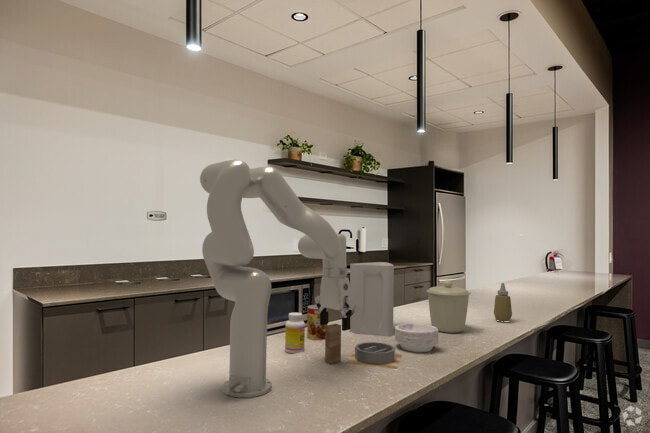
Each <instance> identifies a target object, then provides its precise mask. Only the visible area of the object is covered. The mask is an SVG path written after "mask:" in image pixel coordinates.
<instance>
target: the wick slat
mask: <svg viewBox="0 0 650 433" xmlns="http://www.w3.org/2000/svg"><path fill="white" fill-rule="evenodd" d="M324 342H325V343H324V344H325V345H324V364H328V365H334V364H337V363H338V364H339V363H340V362H341V359H342V324H338V323H333V324H327V326H325V340H324Z"/></svg>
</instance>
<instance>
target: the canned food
mask: <svg viewBox="0 0 650 433" xmlns="http://www.w3.org/2000/svg"><path fill="white" fill-rule="evenodd" d="M318 310H319V309H318V307H317V304H311V305H308V306H307V322H306V323H307V324H306V325H307V326H306V328H307V329H306V336H307V337H306V338H307V339H308V340H310V341H311V340H312V341H325V326H327V325H328V324H326V325H320V313H319V311H318ZM327 311H328V312H329V309H328V310H327ZM327 311H326V312H327Z"/></svg>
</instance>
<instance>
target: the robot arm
mask: <svg viewBox="0 0 650 433" xmlns="http://www.w3.org/2000/svg"><path fill="white" fill-rule="evenodd" d="M199 182H200V185H201V187H202V189H203V190H204V191H205V192H206V193H208V198H207V202H206V215H207V216H206V217H207V220H208V222H209V227H210V230H211V232H210V233H208V234H207V235H206V236H205V238H204V240H203V242H202V249H201V250H202V251H201V252H202V257H203V261H204V263H205V265H206V269H207V270H208V274H209V276H210V279H211V281H212V284H213V286H214V288H215V290H216V292H217V293H218V294H219V296H220V297H221V298H223V299H226V300H228V301H232V302H234V306H233V309H232V312H231V316H230V323H229V324H230V326H229V332H230V334H229V367H228V369H229V372H228V373H229V374H228V375H229V376H228V380H227V381H225V382H224V384H223V385H222V389H221V390H222V393H223V394H225V395H227V396H230V397H234V398H242V399H243V398H254V397H255V398H256V397H260V396H264V395H265V394H267V393H269V392H270V391H271V390H272V388H273V385H272V384H273V383H272V381H271V380H270V379H268V378H267V346H268V345H267V342H268V339H267V338H268V310H269V305H270V304H269V303H270V298H271V295H272V282H271V279H270V277H269V276H268V274H267V273H265V272H264V271H263V270H261V269H259V268H255V267H249V266H247V265H248V264H250V262H251V261H252V260H253V259H254V254H255V250H254V244H253V242H252V239H251V236H250V233H249V230H248V227H247V224H246V221H245V219H244V215H243V211H242V200H243V199H257V198H260V199H261V201H262V202H263V203H264V204H265V206H266V207H267V208H268V210H270V212H271V213H272V214H273V216H274V217H275V218H276V219H277V221H278V222H279V223H281V224H283V225H284V226H287V227H289V228H291V229H293V230H295V231H299V232H301V233H302V234H304V235H303V236H302V237H300V239H299V240H298V243H297V249H298V252H299V253H300V255H302V256H303V257H305V258H308V259H316V260H317V259H318V260H322V277H321V282H320V288H319V289H320V290H319V295H317V296H316V297H314V300H315V305H317V307H318V309H319V310H318V311H319V313H320V325H326V324H327V325H329V310H334V311H338V312H340V313H341V315H342V318H341V332H346V331H350V317H352V314H353V313H354V312H355V311H354V310H355V308H356V306H357V305H356V304H355V303H354V302H353V301H352V300H351V290H350V278H349V277H347V276H348V274H349V272H348V270H347V237H346V235H344V234H343V233H337V231H336V230H335V229H334V228H333V227H332V225H331V224H330V222H328V221H327V219H325V218H324V217H323V216H321V215H320V214H318V213H317V212H315V211H314V210H312V209H311V208H310V207H308V206H307V205H306V204H304V203H303V202H302V201H301V200H300V199H299V197H298V195H297V194H296V193H295V190H293V189H292V187H291V186H290V184H289V183H288V182H287V180H286V179H285V177H284V176H283V175H282V174H281V173H280V171H278V169H276V167H275V168H274V167H273V166H261V167H254V168H250V166H249V165H248V163H246V161H245V162H244V160H240V159H228V160H223V161H221V162H220V161H219V162H215V163H210V164H209V165H207V166H206V167H204V168H203V170H202V171H201V173H200V175H199ZM327 310H328V311H327ZM326 311H327V312H326Z"/></svg>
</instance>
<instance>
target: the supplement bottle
mask: <svg viewBox="0 0 650 433" xmlns="http://www.w3.org/2000/svg"><path fill="white" fill-rule="evenodd" d="M302 318H303V314H302V312H289V313H288V320H287V321H286V322H285V331H284V332H285V336H284V337H285V338H284V340H285V342H284V348H285V349H284V350H285V352H287V353H288V354H297V353H298V354H299V353H302V352H304V351H305V335H306V334H305V333H306V332H305V331H306V330H305V328H306V324H305V321H303V320H302Z"/></svg>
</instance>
